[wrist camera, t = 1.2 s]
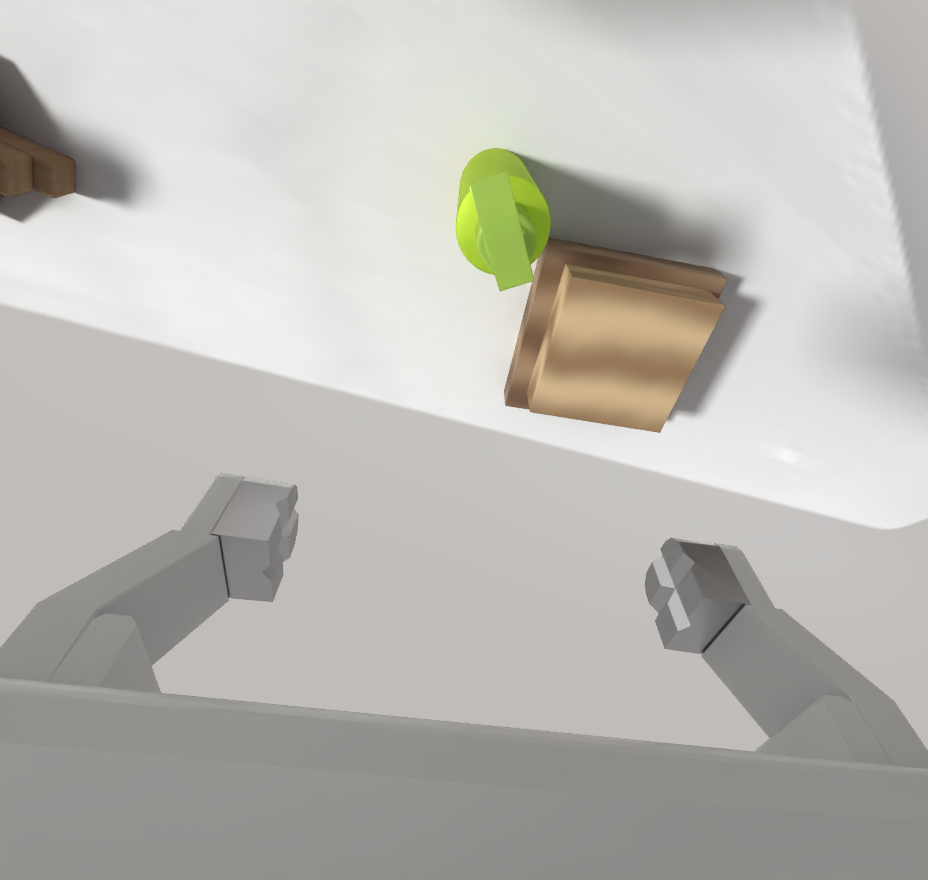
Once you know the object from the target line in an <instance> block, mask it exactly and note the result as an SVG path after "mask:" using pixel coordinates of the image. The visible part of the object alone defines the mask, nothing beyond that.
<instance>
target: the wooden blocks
mask: <svg viewBox="0 0 928 880" xmlns="http://www.w3.org/2000/svg"><path fill="white" fill-rule="evenodd" d="M32 189H34V190H36V191H38V192H41V193H43V194H45V195H47V196H50V197H52V198H57V197H60V196H64V195H67V194H71V193H74V191H75V161H74V160H73V159H71V158H68V157H66V156H64V155H62V154H60V153H57V152H55V151H53V150H51V149H49V148H46V147H44V146H42V145H40V144H38V143H35V142H33V141H31V140H29V139H26V138H24V137H22V136H20V135H18V134H15V133H13V132H11V131H9V130H7V129H4V128H2V127H0V201H1V199H2V197H3V196H2V194H3V195H5V196H13V195H17V194H21V193H25V192H29V191H32Z"/></svg>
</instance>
